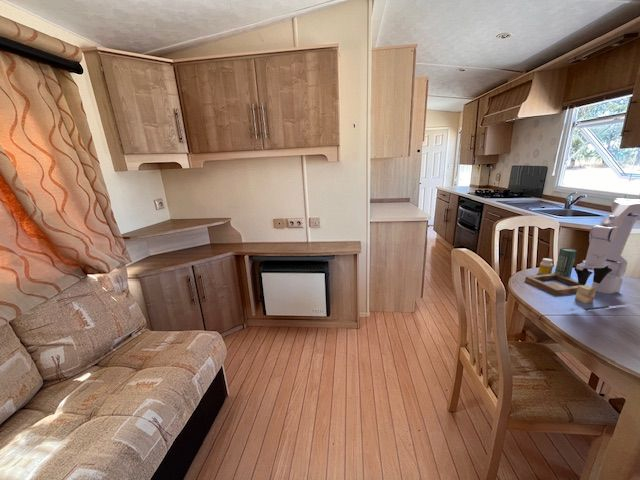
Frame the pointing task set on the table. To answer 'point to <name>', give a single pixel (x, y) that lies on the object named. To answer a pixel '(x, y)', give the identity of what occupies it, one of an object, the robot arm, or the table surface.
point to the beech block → (585, 293)
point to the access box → (553, 283)
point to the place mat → (597, 308)
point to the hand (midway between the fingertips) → (589, 283)
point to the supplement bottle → (545, 266)
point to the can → (565, 261)
